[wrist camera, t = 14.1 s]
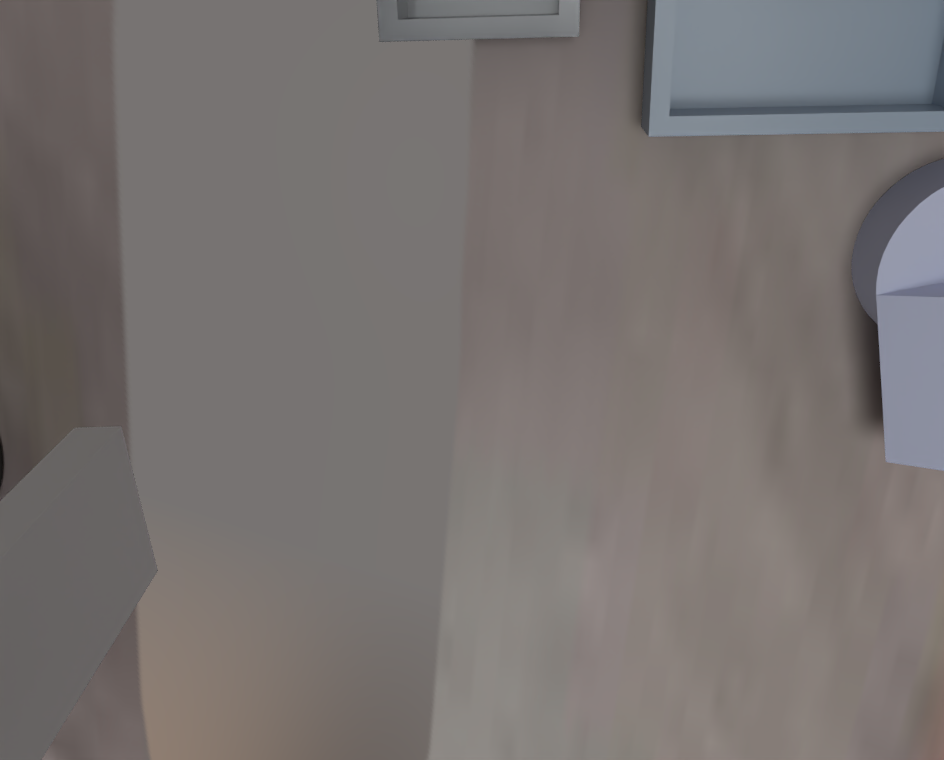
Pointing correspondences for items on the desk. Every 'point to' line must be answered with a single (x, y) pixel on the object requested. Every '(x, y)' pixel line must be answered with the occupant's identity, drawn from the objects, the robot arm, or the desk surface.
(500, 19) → the grey square open box
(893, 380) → the wedge on round base
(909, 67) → the tray
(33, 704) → the robot arm
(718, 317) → the desk surface
